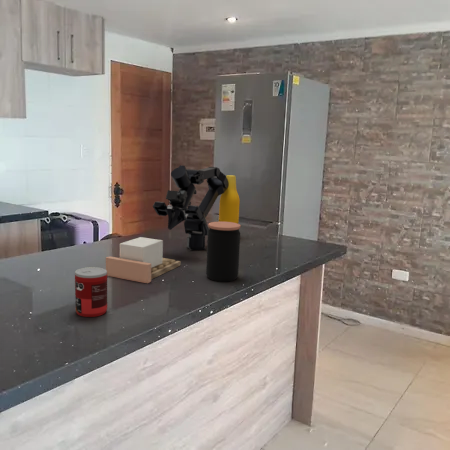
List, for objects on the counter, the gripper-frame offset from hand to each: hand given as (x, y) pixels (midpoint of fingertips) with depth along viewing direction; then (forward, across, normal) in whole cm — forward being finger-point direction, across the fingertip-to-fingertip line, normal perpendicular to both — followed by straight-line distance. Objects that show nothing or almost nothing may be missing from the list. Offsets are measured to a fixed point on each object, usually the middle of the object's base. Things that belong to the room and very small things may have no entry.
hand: (169, 228), depth 170 cm
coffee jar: (+15, +25, +3) cm, 29 cm away
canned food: (+46, +8, -30) cm, 56 cm away
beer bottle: (-25, +4, +42) cm, 49 cm away
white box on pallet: (+19, 0, -6) cm, 20 cm away
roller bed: (+18, 0, -1) cm, 18 cm away
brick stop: (+26, 0, -10) cm, 28 cm away
